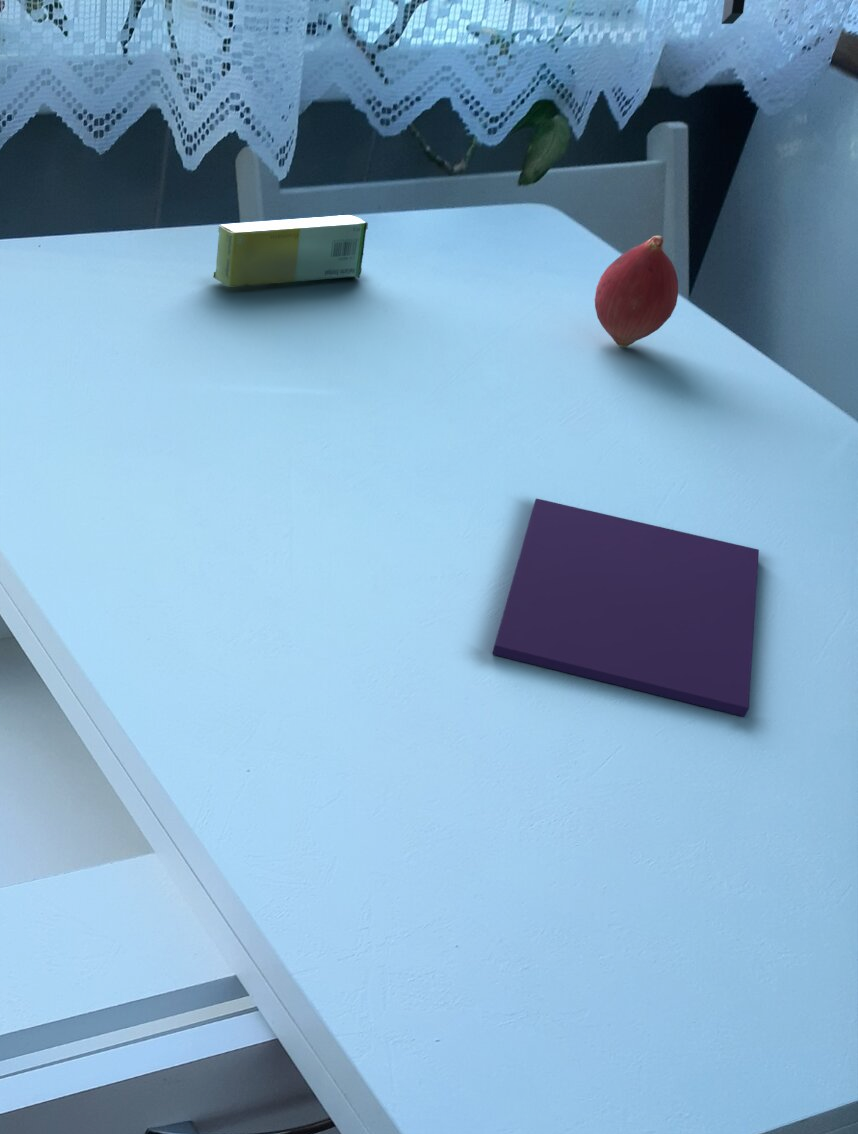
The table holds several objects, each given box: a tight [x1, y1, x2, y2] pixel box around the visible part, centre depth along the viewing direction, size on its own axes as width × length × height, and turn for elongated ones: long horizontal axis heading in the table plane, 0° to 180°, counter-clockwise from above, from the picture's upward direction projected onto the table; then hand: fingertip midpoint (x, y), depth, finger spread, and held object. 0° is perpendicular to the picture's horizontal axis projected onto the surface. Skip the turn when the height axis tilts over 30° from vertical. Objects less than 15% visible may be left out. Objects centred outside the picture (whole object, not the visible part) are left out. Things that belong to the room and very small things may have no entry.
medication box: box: [212, 214, 369, 288], centre depth 117 cm, size 12×3×4 cm, turn 114°
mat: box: [492, 498, 760, 717], centre depth 90 cm, size 14×18×1 cm
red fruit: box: [594, 235, 679, 348], centre depth 112 cm, size 6×6×8 cm
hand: (834, 17), depth 104 cm, fingers open, 13 cm apart
